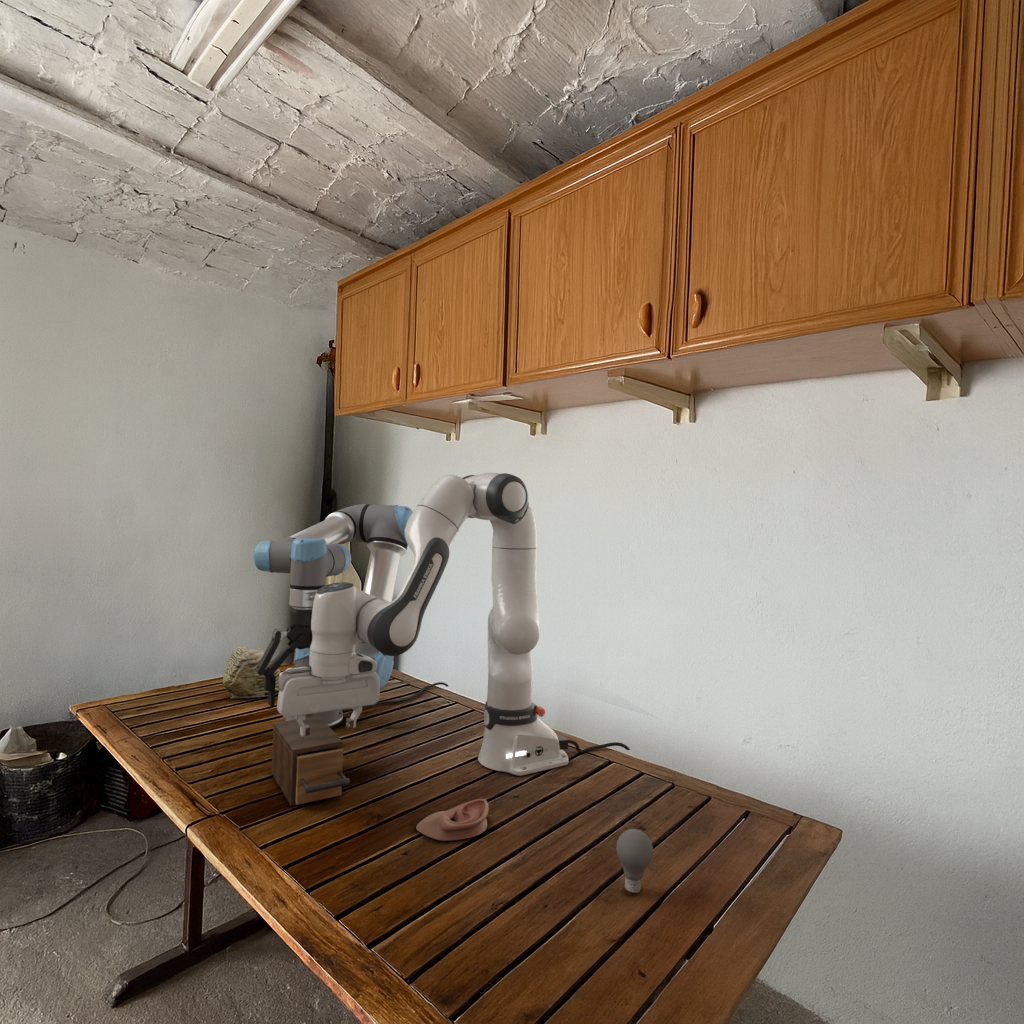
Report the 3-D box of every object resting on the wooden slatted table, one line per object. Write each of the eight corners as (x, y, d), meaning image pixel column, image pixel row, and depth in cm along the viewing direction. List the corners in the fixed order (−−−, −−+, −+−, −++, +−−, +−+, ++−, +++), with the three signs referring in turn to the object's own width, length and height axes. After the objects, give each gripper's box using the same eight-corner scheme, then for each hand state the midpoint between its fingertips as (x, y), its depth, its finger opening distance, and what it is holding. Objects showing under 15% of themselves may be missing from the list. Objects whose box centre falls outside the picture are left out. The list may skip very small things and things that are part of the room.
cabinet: (340, 795, 135) (343, 741, 135) (290, 806, 129) (293, 750, 129) (317, 764, 150) (319, 715, 149) (271, 773, 144) (273, 722, 144)
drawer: (350, 806, 128) (352, 760, 128) (304, 817, 123) (306, 768, 123) (319, 766, 146) (320, 725, 146) (278, 774, 141) (279, 732, 141)
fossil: (218, 695, 195) (220, 647, 195) (278, 685, 208) (279, 640, 207) (228, 703, 189) (230, 653, 188) (289, 692, 201) (290, 645, 201)
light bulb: (610, 879, 108) (613, 822, 108) (644, 879, 109) (647, 822, 109) (619, 902, 102) (622, 840, 102) (655, 901, 103) (658, 840, 103)
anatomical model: (410, 815, 119) (430, 788, 131) (410, 836, 119) (430, 807, 131) (479, 825, 117) (493, 797, 128) (478, 847, 117) (492, 817, 128)
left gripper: (251, 612, 132) (247, 714, 132) (366, 606, 146) (362, 698, 146) (244, 607, 138) (240, 703, 139) (355, 601, 152) (351, 689, 152)
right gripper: (283, 673, 119) (279, 745, 120) (384, 662, 131) (381, 728, 131) (274, 665, 125) (271, 734, 125) (372, 655, 136) (369, 718, 137)
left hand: (302, 701), depth 142 cm, fingers open, 13 cm apart
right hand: (328, 731), depth 128 cm, fingers open, 8 cm apart
